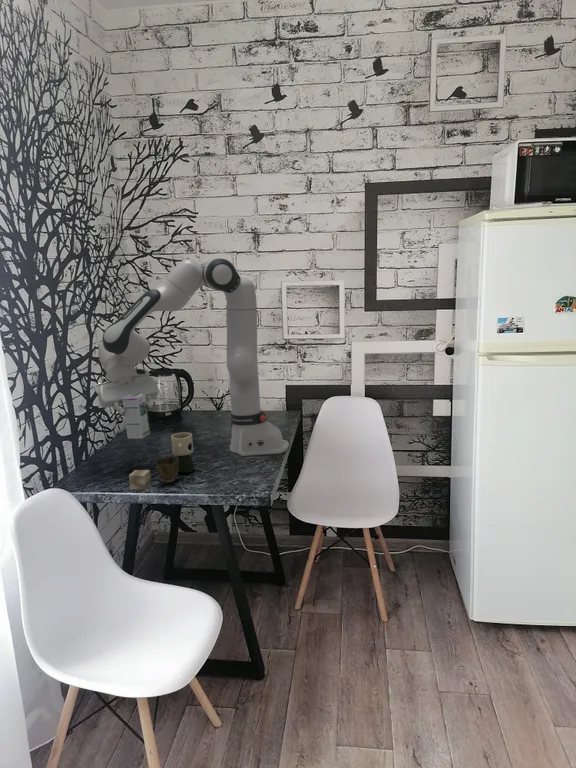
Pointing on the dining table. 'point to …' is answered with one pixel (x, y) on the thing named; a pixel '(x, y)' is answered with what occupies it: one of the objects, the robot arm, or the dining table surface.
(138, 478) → the birch block
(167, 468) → the cup
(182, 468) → the character mug
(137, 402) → the syrup box
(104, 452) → the dining table surface
